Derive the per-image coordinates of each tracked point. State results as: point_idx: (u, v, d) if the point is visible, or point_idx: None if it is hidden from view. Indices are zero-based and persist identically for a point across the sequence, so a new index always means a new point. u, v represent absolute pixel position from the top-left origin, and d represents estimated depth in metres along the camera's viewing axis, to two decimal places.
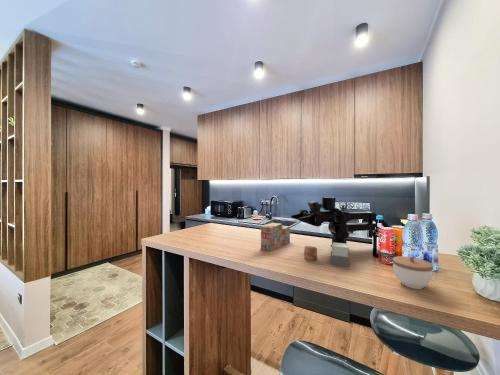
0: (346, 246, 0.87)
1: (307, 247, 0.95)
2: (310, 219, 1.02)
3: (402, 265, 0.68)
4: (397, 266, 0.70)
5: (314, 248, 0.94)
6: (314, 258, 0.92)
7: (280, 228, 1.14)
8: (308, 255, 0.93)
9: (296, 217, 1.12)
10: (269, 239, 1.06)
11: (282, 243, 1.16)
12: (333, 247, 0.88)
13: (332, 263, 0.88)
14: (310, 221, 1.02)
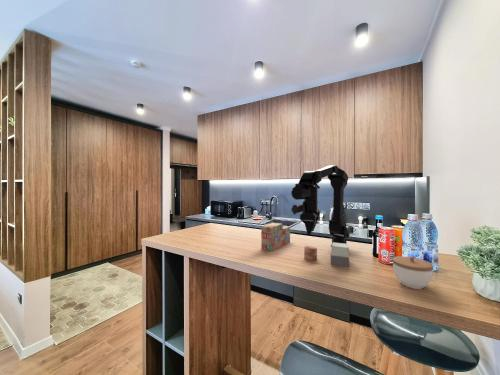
0: (346, 246, 0.87)
1: (307, 247, 0.95)
2: (308, 222, 0.89)
3: (402, 265, 0.68)
4: (397, 266, 0.70)
5: (314, 248, 0.94)
6: (314, 258, 0.92)
7: (280, 228, 1.14)
8: (308, 255, 0.93)
9: (313, 225, 0.99)
10: (270, 239, 1.06)
11: (282, 243, 1.16)
12: (333, 247, 0.88)
13: (332, 263, 0.88)
14: (311, 223, 0.89)
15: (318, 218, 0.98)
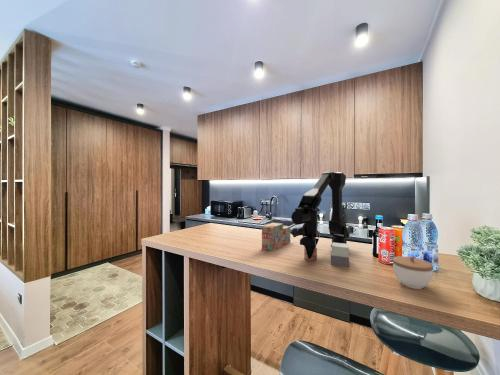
0: (346, 246, 0.87)
1: None
2: (309, 246, 0.91)
3: (402, 265, 0.68)
4: (397, 266, 0.70)
5: None
6: (314, 258, 0.92)
7: (281, 228, 1.14)
8: None
9: None
10: (270, 239, 1.06)
11: (283, 243, 1.16)
12: (333, 247, 0.88)
13: (332, 263, 0.88)
14: (311, 246, 0.90)
15: (317, 241, 0.97)
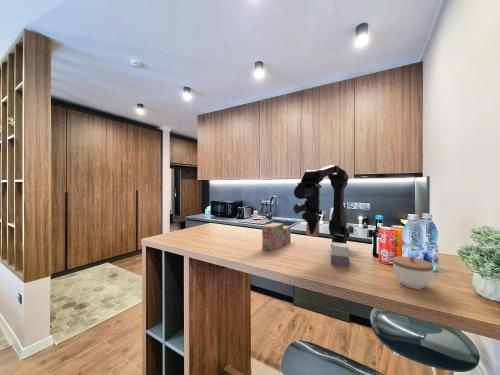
0: (346, 246, 0.88)
1: None
2: (311, 221, 0.91)
3: (402, 265, 0.68)
4: (397, 266, 0.70)
5: None
6: (316, 233, 0.92)
7: (281, 228, 1.14)
8: None
9: None
10: (271, 239, 1.06)
11: (283, 243, 1.16)
12: (333, 247, 0.88)
13: (332, 263, 0.88)
14: (313, 221, 0.90)
15: None
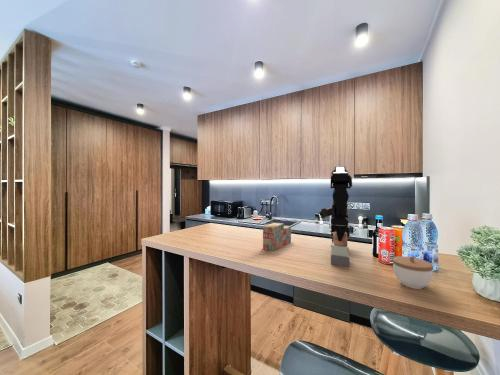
0: (346, 246, 0.88)
1: None
2: (340, 227, 0.84)
3: (402, 265, 0.68)
4: (397, 266, 0.70)
5: None
6: (345, 243, 0.87)
7: (282, 228, 1.14)
8: (339, 241, 0.87)
9: None
10: (271, 239, 1.06)
11: (284, 243, 1.16)
12: (333, 247, 0.88)
13: (332, 263, 0.88)
14: (342, 228, 0.84)
15: None
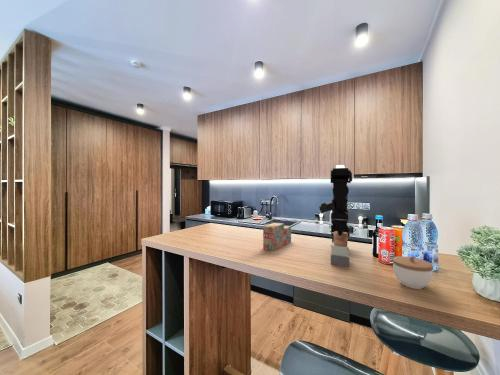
0: (345, 246, 0.88)
1: (337, 232, 0.90)
2: (340, 221, 0.84)
3: (402, 265, 0.68)
4: (397, 266, 0.70)
5: (345, 233, 0.89)
6: (345, 243, 0.87)
7: (282, 228, 1.14)
8: (340, 241, 0.87)
9: None
10: (272, 239, 1.06)
11: (284, 243, 1.16)
12: (333, 247, 0.88)
13: (332, 263, 0.88)
14: (342, 222, 0.84)
15: None
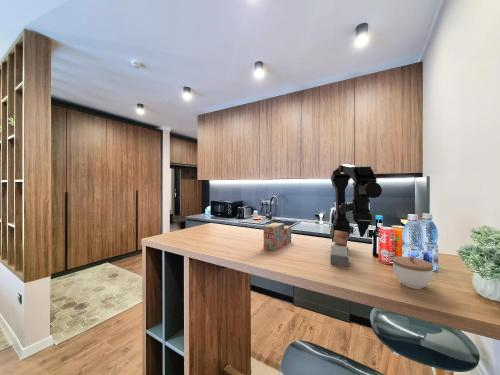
0: (345, 245, 0.88)
1: None
2: (362, 222, 0.81)
3: (402, 265, 0.68)
4: (397, 266, 0.70)
5: (345, 232, 0.90)
6: (346, 242, 0.88)
7: (282, 228, 1.14)
8: (342, 239, 0.88)
9: None
10: (272, 239, 1.07)
11: (284, 243, 1.16)
12: (332, 247, 0.89)
13: (332, 263, 0.88)
14: (365, 223, 0.80)
15: None
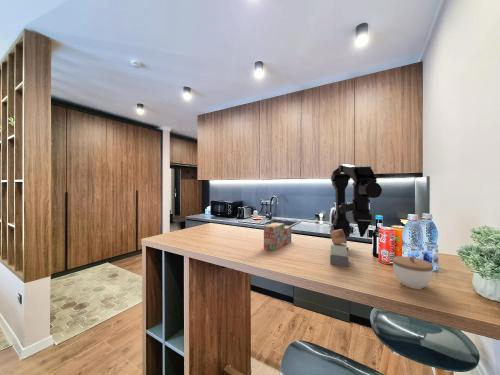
0: (345, 245, 0.88)
1: (333, 231, 0.91)
2: (362, 222, 0.81)
3: (402, 265, 0.68)
4: (397, 266, 0.70)
5: (339, 229, 0.91)
6: (345, 238, 0.89)
7: (282, 228, 1.14)
8: (341, 237, 0.88)
9: None
10: (272, 239, 1.07)
11: (284, 243, 1.16)
12: (332, 246, 0.89)
13: (332, 263, 0.88)
14: (365, 223, 0.80)
15: None
